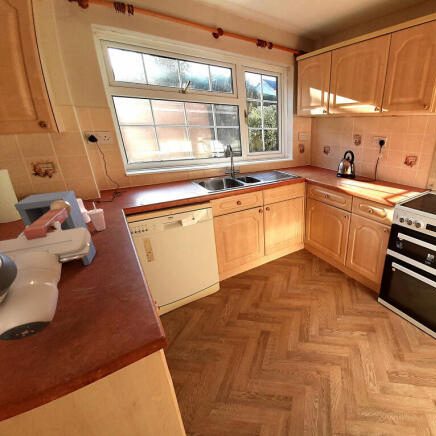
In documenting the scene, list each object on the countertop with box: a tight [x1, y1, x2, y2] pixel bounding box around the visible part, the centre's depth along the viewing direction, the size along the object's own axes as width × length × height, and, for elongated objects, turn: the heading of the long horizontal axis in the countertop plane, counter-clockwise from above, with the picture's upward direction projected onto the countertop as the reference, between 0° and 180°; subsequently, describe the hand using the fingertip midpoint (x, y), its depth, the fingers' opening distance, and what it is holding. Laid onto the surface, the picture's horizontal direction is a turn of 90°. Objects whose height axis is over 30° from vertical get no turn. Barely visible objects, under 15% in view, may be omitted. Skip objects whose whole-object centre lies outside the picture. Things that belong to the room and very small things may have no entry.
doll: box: [22, 200, 72, 240], centre depth 70 cm, size 23×5×5 cm, turn 27°
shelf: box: [13, 190, 97, 266], centre depth 88 cm, size 12×12×26 cm
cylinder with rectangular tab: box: [76, 198, 92, 224], centre depth 129 cm, size 9×9×12 cm
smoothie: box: [87, 201, 107, 232], centre depth 119 cm, size 6×6×14 cm
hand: (44, 224), depth 66 cm, fingers closed on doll, 3 cm apart
